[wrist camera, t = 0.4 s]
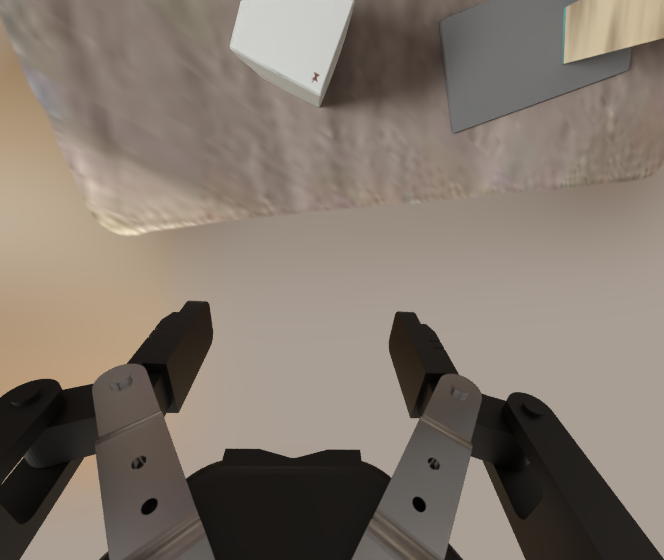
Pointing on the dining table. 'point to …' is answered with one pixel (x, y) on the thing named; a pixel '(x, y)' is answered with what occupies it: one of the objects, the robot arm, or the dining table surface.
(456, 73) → the mat
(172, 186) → the dining table surface
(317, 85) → the supplement box
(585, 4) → the block
